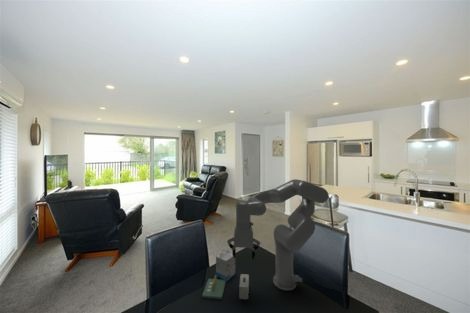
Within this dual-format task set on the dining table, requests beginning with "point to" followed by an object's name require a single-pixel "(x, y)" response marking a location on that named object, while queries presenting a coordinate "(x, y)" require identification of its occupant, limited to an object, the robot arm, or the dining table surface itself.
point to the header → (214, 288)
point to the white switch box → (244, 286)
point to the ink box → (225, 265)
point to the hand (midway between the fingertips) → (243, 257)
